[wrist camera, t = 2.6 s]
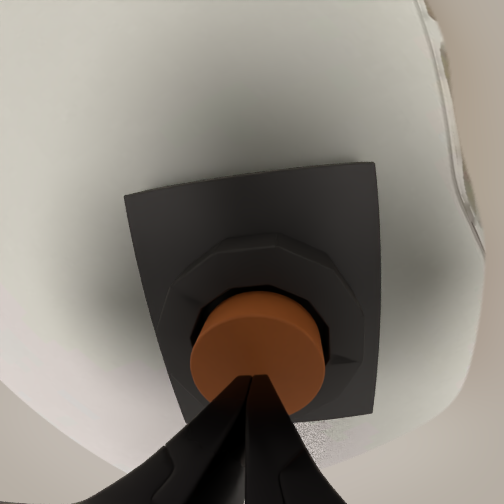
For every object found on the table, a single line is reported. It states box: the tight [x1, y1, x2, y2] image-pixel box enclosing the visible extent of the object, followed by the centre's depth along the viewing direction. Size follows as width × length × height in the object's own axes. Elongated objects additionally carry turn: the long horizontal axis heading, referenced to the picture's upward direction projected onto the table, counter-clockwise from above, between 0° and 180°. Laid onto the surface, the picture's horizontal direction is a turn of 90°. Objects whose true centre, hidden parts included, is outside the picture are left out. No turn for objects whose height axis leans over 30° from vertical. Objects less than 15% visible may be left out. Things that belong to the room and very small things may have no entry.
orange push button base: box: [124, 162, 381, 424], centre depth 12 cm, size 11×9×4 cm
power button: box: [190, 291, 325, 415], centre depth 10 cm, size 4×4×2 cm
